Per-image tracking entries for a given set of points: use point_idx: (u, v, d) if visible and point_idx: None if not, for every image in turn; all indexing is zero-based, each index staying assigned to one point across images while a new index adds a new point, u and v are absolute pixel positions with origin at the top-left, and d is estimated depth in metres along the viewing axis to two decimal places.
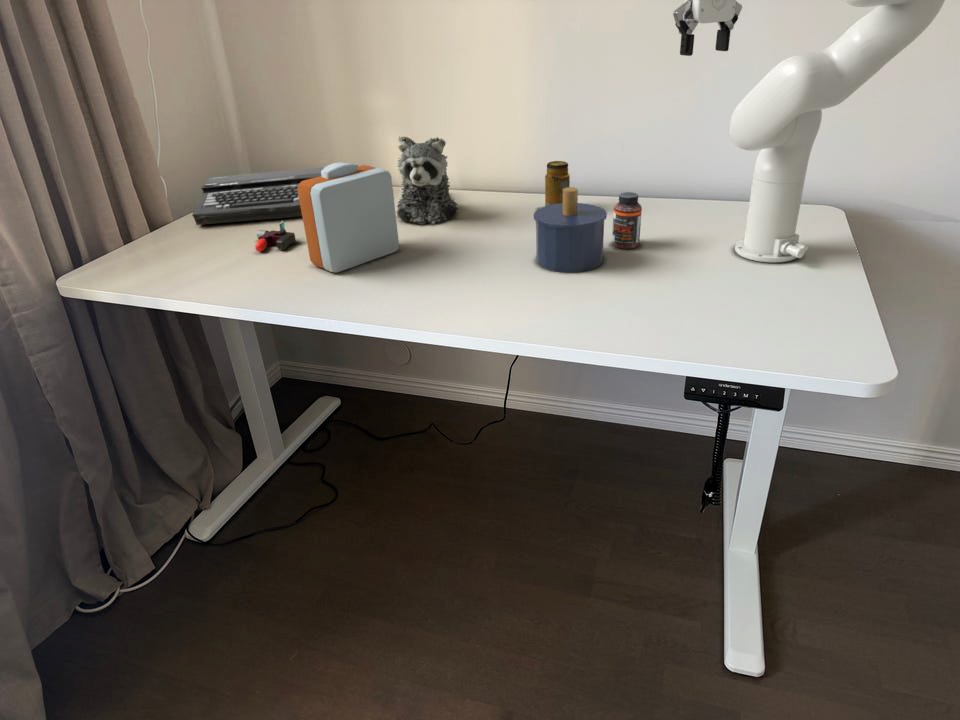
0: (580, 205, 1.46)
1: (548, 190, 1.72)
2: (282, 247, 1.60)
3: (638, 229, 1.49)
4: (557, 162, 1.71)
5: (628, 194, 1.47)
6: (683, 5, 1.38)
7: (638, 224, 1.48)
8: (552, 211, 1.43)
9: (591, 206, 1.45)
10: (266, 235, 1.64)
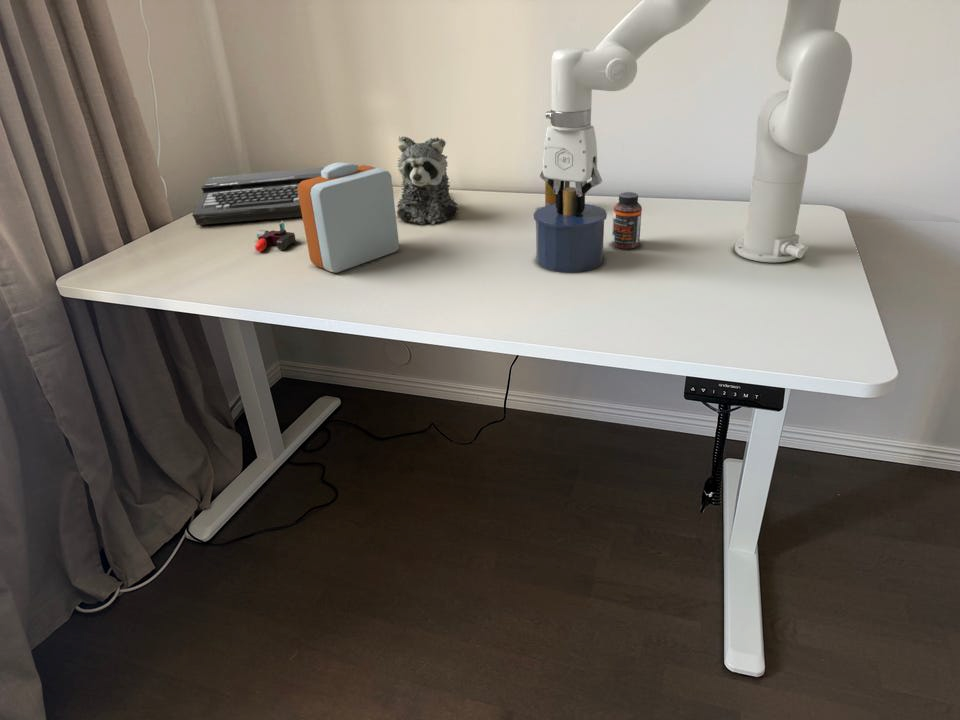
0: None
1: (548, 190, 1.72)
2: (282, 247, 1.60)
3: (638, 229, 1.49)
4: None
5: (628, 194, 1.47)
6: None
7: (638, 224, 1.48)
8: (552, 211, 1.43)
9: (591, 206, 1.45)
10: (266, 235, 1.64)
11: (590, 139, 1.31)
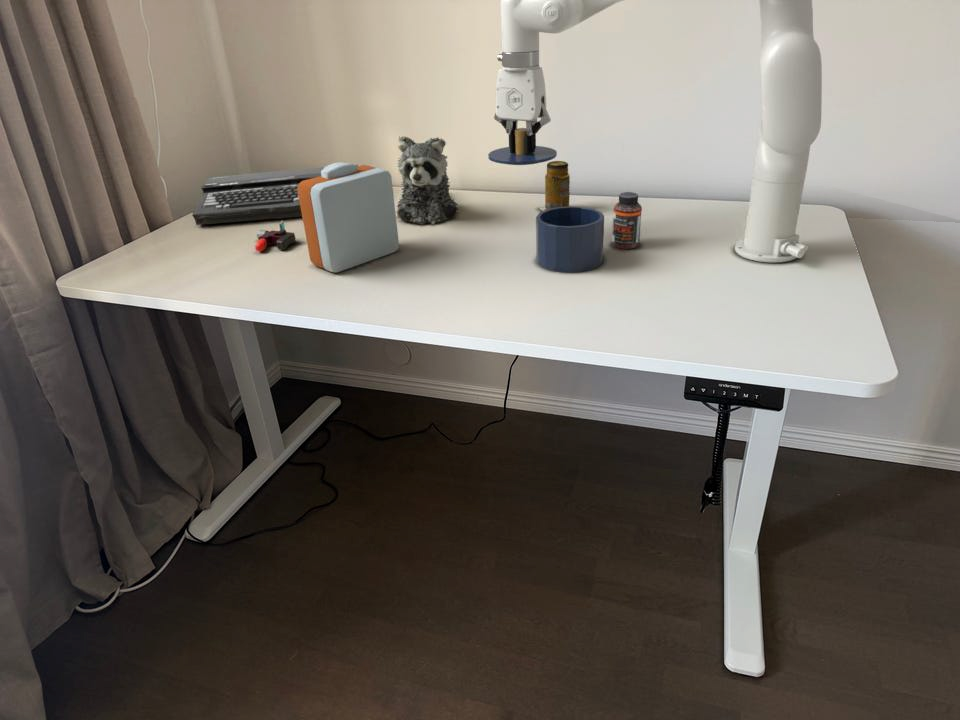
0: None
1: (548, 190, 1.72)
2: (282, 247, 1.60)
3: (638, 229, 1.49)
4: (557, 162, 1.71)
5: (628, 194, 1.47)
6: None
7: (638, 224, 1.48)
8: (506, 151, 1.52)
9: (543, 147, 1.53)
10: (266, 235, 1.64)
11: (538, 79, 1.39)
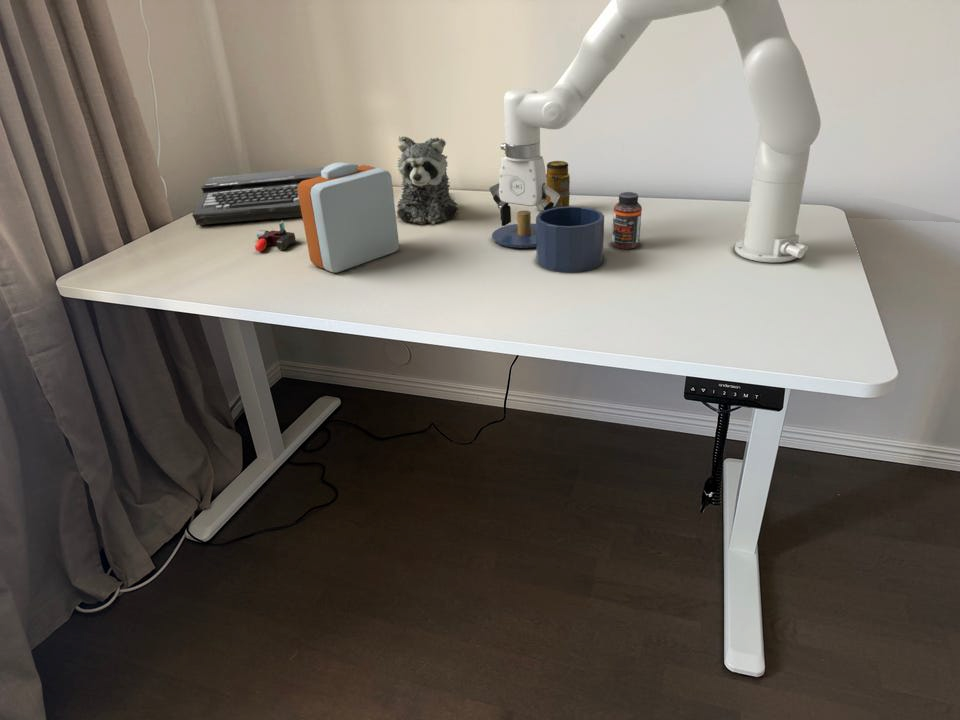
0: (534, 226, 1.63)
1: None
2: (282, 247, 1.60)
3: (638, 229, 1.49)
4: (557, 162, 1.71)
5: (628, 194, 1.47)
6: None
7: (638, 224, 1.48)
8: (509, 231, 1.60)
9: None
10: (266, 235, 1.64)
11: (539, 168, 1.48)
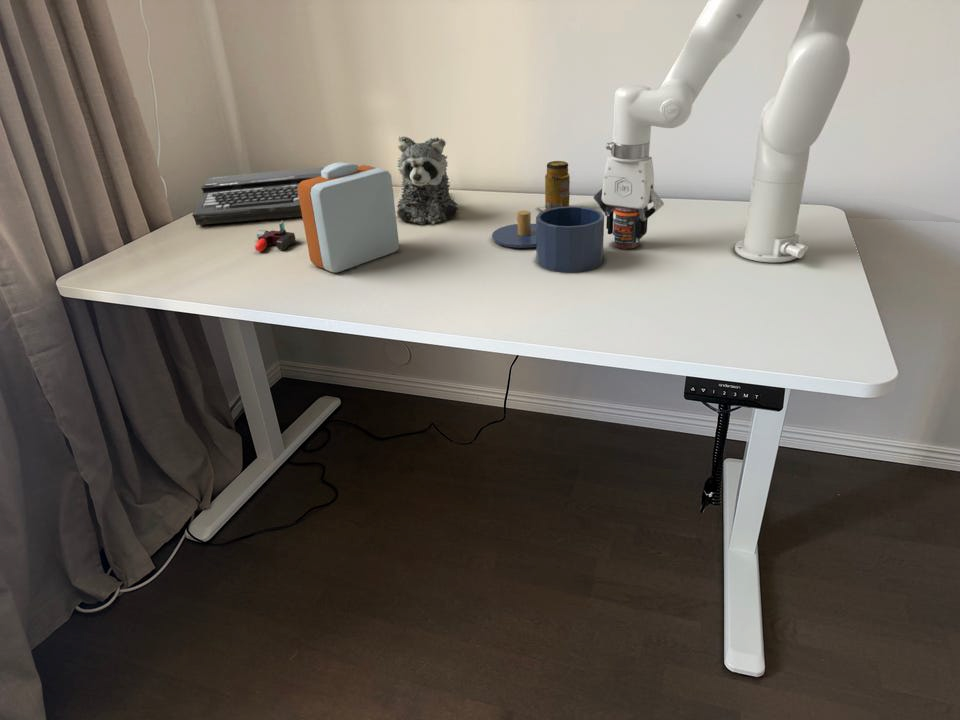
0: (534, 226, 1.63)
1: (548, 190, 1.72)
2: (282, 247, 1.60)
3: None
4: (557, 162, 1.71)
5: None
6: None
7: None
8: (509, 231, 1.60)
9: None
10: (266, 235, 1.64)
11: (649, 169, 1.41)
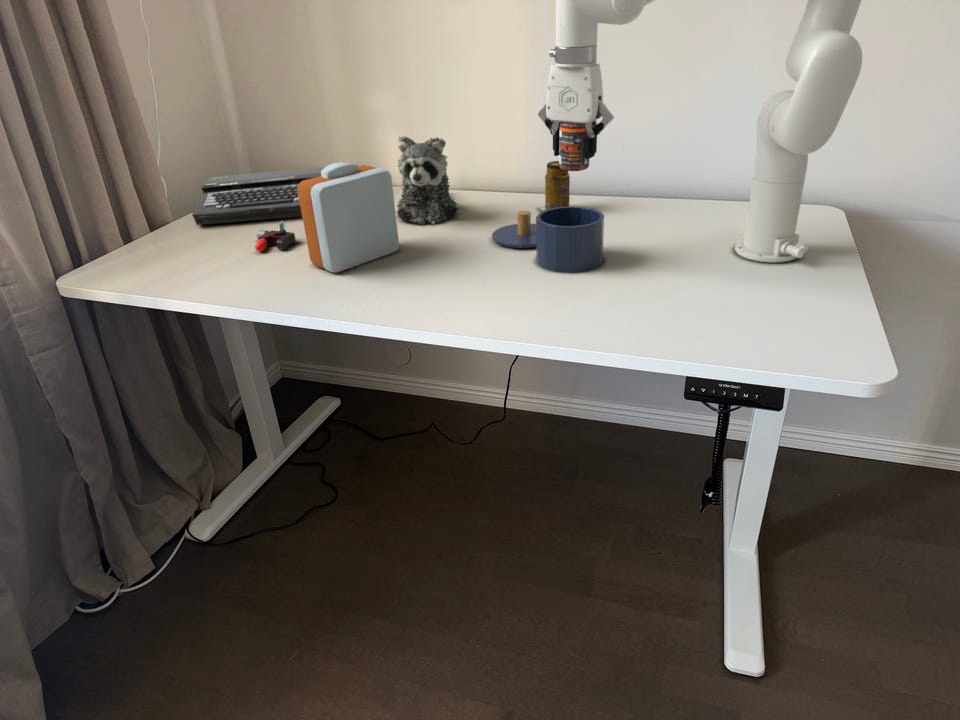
0: (534, 226, 1.63)
1: (549, 190, 1.72)
2: (282, 247, 1.60)
3: None
4: (557, 162, 1.71)
5: None
6: None
7: None
8: (509, 231, 1.60)
9: None
10: (266, 235, 1.64)
11: (596, 76, 1.26)
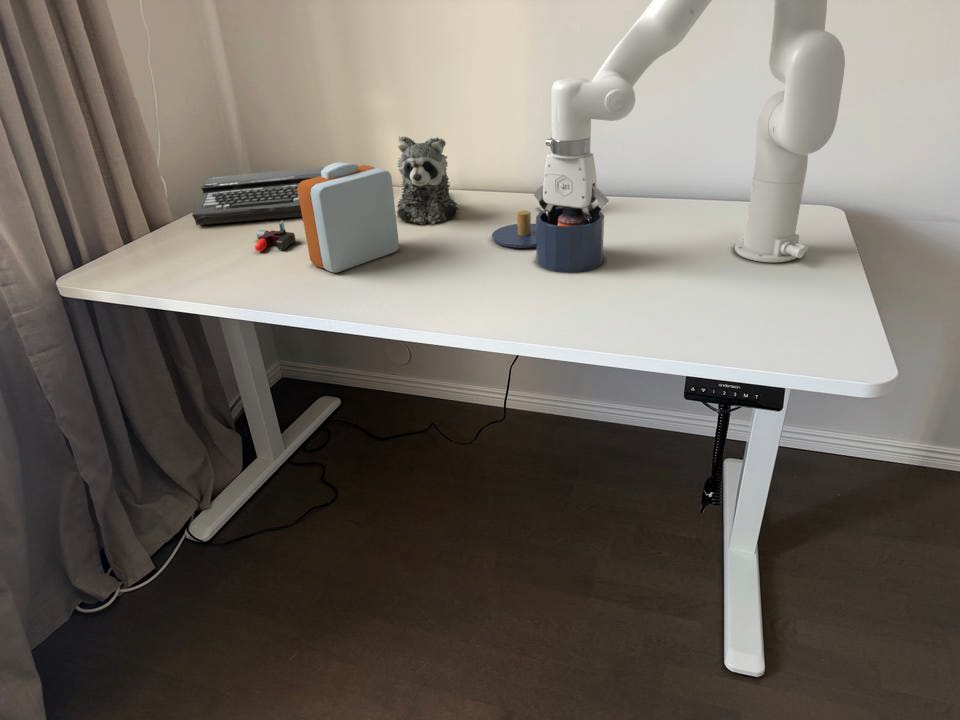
0: (534, 226, 1.63)
1: None
2: (282, 247, 1.60)
3: None
4: None
5: None
6: (541, 186, 1.42)
7: None
8: (509, 231, 1.60)
9: None
10: (266, 235, 1.64)
11: (589, 167, 1.33)
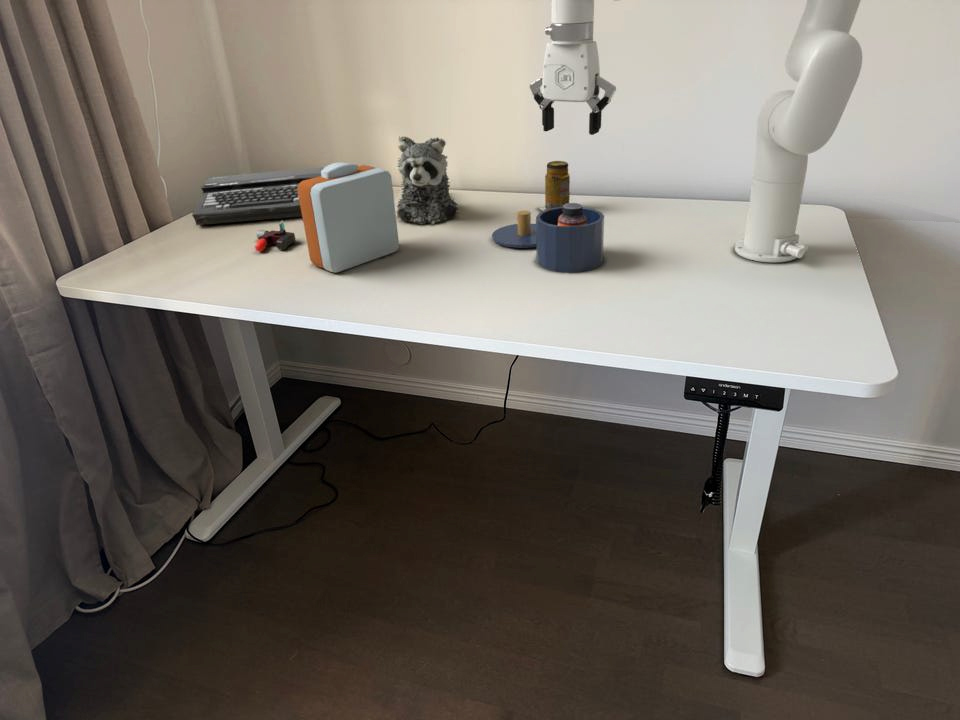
0: (534, 226, 1.63)
1: (549, 190, 1.72)
2: (282, 247, 1.60)
3: None
4: (557, 162, 1.71)
5: (572, 205, 1.40)
6: (539, 79, 1.32)
7: None
8: (509, 231, 1.60)
9: None
10: (266, 235, 1.64)
11: (592, 54, 1.23)
